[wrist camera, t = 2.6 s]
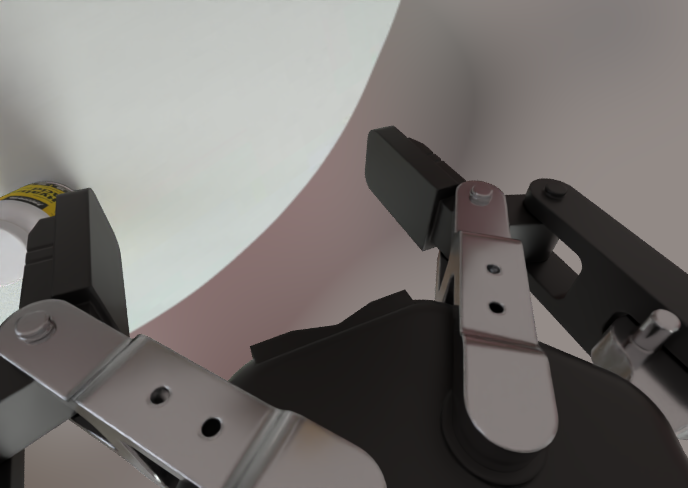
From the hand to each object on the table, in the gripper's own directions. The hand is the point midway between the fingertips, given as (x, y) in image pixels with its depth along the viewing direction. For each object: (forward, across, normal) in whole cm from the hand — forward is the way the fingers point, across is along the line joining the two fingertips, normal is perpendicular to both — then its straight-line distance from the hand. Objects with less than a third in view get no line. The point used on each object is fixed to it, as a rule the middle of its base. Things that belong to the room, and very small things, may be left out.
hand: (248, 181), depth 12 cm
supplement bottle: (+23, +12, +15) cm, 29 cm away
